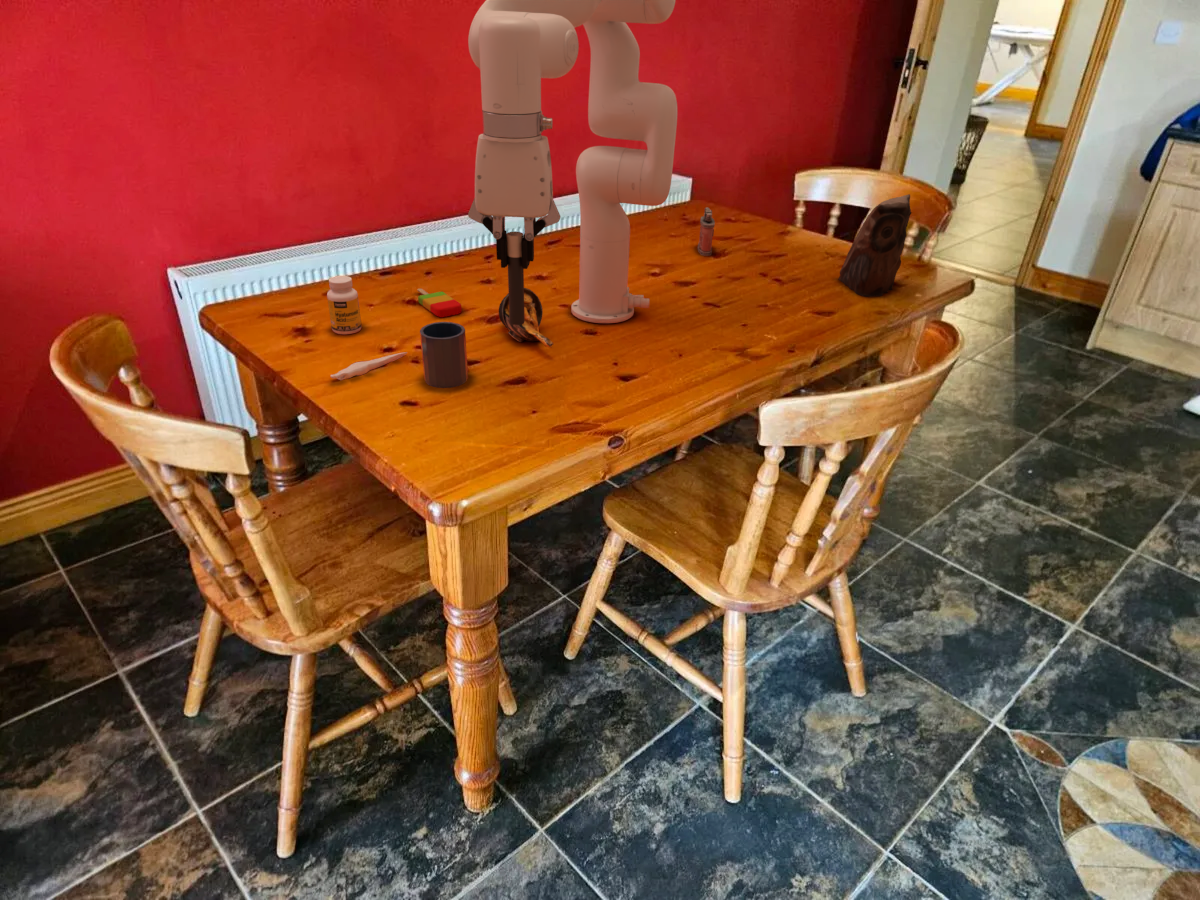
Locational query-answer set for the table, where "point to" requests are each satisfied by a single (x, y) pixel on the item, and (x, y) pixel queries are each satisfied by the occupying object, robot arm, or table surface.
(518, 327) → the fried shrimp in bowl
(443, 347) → the pen cup
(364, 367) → the pale pink tapered rod
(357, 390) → the table surface
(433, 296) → the popsicle
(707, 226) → the lighter
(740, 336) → the table surface
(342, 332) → the supplement bottle
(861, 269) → the owl
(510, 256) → the marker pen
